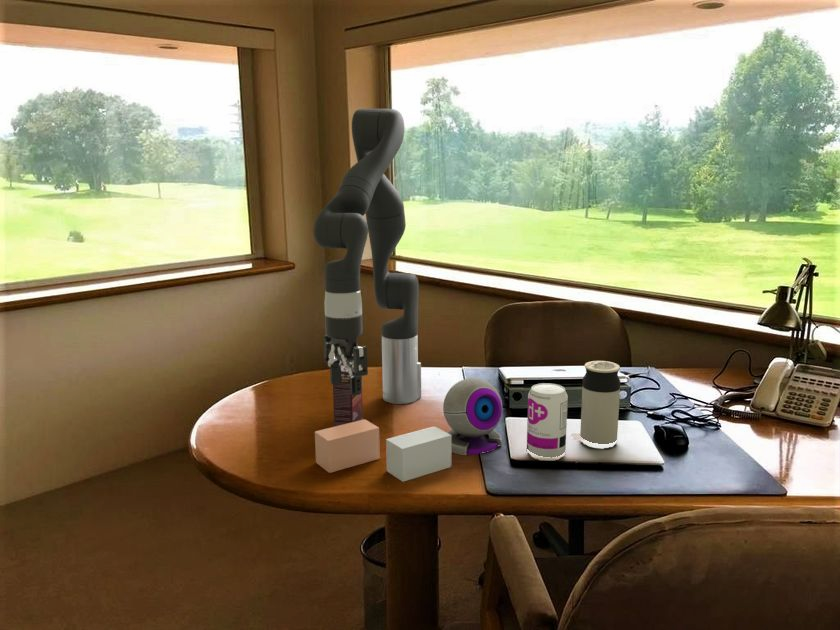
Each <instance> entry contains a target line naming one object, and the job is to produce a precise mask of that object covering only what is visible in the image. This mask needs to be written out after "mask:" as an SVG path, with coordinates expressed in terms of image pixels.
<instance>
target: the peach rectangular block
mask: <svg viewBox="0 0 840 630" xmlns="http://www.w3.org/2000/svg"><path fill="white" fill-rule="evenodd" d="M314 443H315V444H314V445H315V462H316V464H317V465H318V466H320V467H321V468H322V469H324V470H325V471H326V472H327V473H329V474H330V473H334V472H337V471H341V470H345V469H348V468H351V467H356V466H358V465H362V464H366V463H369V462H373V461H376V460H380V459H381V457H380V456H381V455H380V454H381V453H380V451H381V450H380V449H381V447H380V443H381V442H380V427H379V426H377V425H375V424H374V423H372V422H370V421H369V420H367V419H365V418H363V420H360V421H356V422H351V423H347V424H343V425H339V426H335V427H334V426H332V427H327V428H323V429H319V430H316V431H314Z"/></svg>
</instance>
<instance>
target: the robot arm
mask: <svg viewBox="0 0 840 630" xmlns="http://www.w3.org/2000/svg"><path fill="white" fill-rule="evenodd" d="M404 121H405V120H404V117H403V115H402V113H401V111H399V110H397V109H394V108H359V109H356V110H355V111H354V113H353V115H352V117H351V136H352V141H353V146H354V152H355V155H356V161H357V162H356V163H355V164H353V165H352V167H351V166H350V168H349V169H348V171H346V173H345V175H344V176H343V178H342V180H341V182H340V184H339V187H338V190H337V192H336V194H335V195H334V197H332V198H331V199H330V200H329V202H327V204H326V205H325V206H324V208H323V209H322V210H321V211H320V212H319V214H318V215H317V217H316V219H315V221H314V224H313V237H314V240H315V242H316V244H318V246H320V247H322V248H325V249H343V250H344V249H345V250H346V253H345V256H344V257H343V258H340V259H334V260H330V261H329V262H326V263H325V266H324V302H323V303H324V326H325V327H324V328H325V334H323V360H324V362H325V363H327V366H328V367H329V370H330V371H329V374H330V377H329V378H330V384H331V385H332V386H333V385H336V384H340V383H341V366H340V365H341V364H342V363H343V364H344V367H345V368H347V369H348V371H349V374H350V393H351V395H353V396H355V395H359V394H361V392H362V393H363V386H362V387H361V377H362V378H363V377H364V376H365V377H366V376H368V374H369V371H368V352H367V351H368V350H367V347H366V346H367V345H362V346H360V345H359V344H358V338H359V337H360V336H362V335H363V301H362V300H363V299H362V295H361V265H362V259H363V254H364V252H365V246H366V245H367V240H368V237H369V244H370V250H371V261H372V275H373V276H372V277H373V290H374V298H375V303H376V305H377V306H378V307H379V308H380V309H385V310H402V311H403V314H402V315H401V316H399V317H397V318H394V319H392V320H388V321H386V322H384V323H383V324H382V326H381V356H382V357H381V358H382V359H381V361H382V362H381V364H382V366H381V367H382V400H383V401H385V402H387V403H390V404H395V405H397V404H398V405H402V404H410V403H414V402H416V401H417V400H419V399H421V398H422V363H421V362H420V361H419V359H418V358H419V357H418V355H419V352H418V351H419V349H418V348H419V346H418V345H419V343H418V338H419V337H418V333H419V332H418V327H419V326H418V321H419V319H418V318H419V312H418V311H419V295H420V293H419V292H420V291H419V290H420V285H419V284H420V283H419V279H418V277H417V276H416V274H414V273H410V272H409V273H404V272H390V271H389V261H390V258H391V256H392V255H393V253H394V250H395V249H396V247H397V245H399V243H400V241H401V239H402V237H403V236H404V233H405V230H406V225H407V224H406V215H405V205H404V201H403V198H402V196H401V194H400V193H399V191H398V190H397V188H396V187H395V186H394V184H393V183H392V182H391V181H390V179H389V178H388V177H387V176H386V175H385V172H386V171H387V169H388V168H389V166H390V165H391V163H392V162H393V160H394V158H395V157H396V155H397V154H398V153H399V150H400V149H401V146H402V144H403V141H404V137H405V122H404ZM364 215H365V217H364ZM361 365H362V368H361ZM352 367H354V371H353V368H352Z"/></svg>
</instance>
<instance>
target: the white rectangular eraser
mask: <svg viewBox="0 0 840 630" xmlns="http://www.w3.org/2000/svg"><path fill="white" fill-rule="evenodd" d="M447 432H448V431H445V430H443V429H440V428H439V427H437V426H431V427H426V428H422V429H419V430H414V431H411V432H408V433H404V434H399V435H395V436H392V437H390V438H386V439H385V448H386V450H385V452H386V454H385V455H386V459H385V460H386V472H387V473H389V474H390V475H391V476H393V477H395V478H396V479H398V480H399V481H401V482H402V483H405V482H406V481H411V480H413V479H417V478H420V477H423V476H425V475H429V474H430V475H431V474H433V473H436V472H439V471H442V470H445V469H449V468H451V467H452V452H451V435H450V434H448V433H447Z"/></svg>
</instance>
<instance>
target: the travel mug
mask: <svg viewBox="0 0 840 630" xmlns="http://www.w3.org/2000/svg"><path fill="white" fill-rule="evenodd" d="M584 368H585V371H586V372H585V374H584V375H583V378H582V387H581V388H582V391H581V409H580V410H581V412H580V431H579V435H580V436H581V437H582V438H583V439H585V440H587V441H589V442H592V443H598V444H609V443H613V442H615V441H616V440H617V441H618V432H619V431H618V429H619V412H620V398H621V397H620V394H621V380H620V377H619V375H618V374H619V370H621V367H620V365H619V364H618V363H615V362H612V361H608V360H607V361H606V360H592V361H588V362H585V364H584Z"/></svg>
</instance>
